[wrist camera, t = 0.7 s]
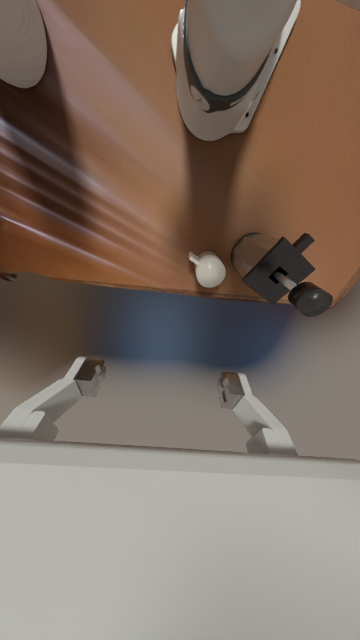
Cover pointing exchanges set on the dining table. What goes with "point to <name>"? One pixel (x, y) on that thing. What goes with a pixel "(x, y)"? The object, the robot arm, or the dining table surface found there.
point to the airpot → (270, 263)
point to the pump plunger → (305, 296)
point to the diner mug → (208, 268)
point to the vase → (22, 43)
